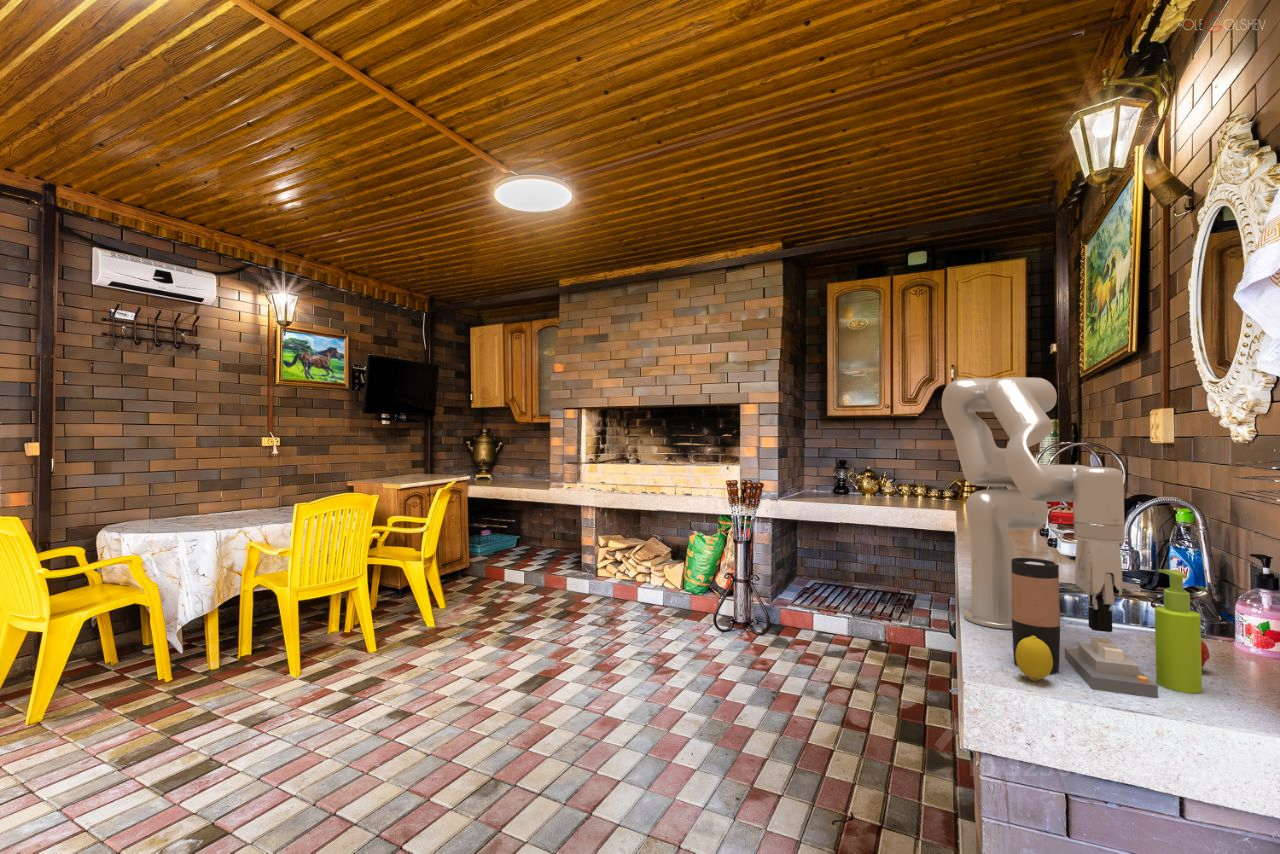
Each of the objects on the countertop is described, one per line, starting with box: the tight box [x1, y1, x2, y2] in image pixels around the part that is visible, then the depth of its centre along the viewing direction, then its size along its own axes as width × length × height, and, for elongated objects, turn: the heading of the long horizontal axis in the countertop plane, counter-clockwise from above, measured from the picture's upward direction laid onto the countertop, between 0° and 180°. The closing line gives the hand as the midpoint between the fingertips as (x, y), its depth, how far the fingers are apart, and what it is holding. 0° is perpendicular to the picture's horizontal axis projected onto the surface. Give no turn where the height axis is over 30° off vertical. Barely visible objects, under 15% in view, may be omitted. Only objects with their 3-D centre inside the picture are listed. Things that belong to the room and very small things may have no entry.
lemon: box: [1015, 636, 1053, 682], centre depth 103 cm, size 6×6×8 cm
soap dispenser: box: [1154, 568, 1203, 694], centre depth 102 cm, size 6×7×20 cm
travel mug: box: [1011, 557, 1061, 675], centre depth 110 cm, size 8×8×20 cm
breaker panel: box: [1063, 636, 1159, 699], centre depth 105 cm, size 16×9×6 cm, turn 157°
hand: (1100, 629), depth 108 cm, fingers closed
